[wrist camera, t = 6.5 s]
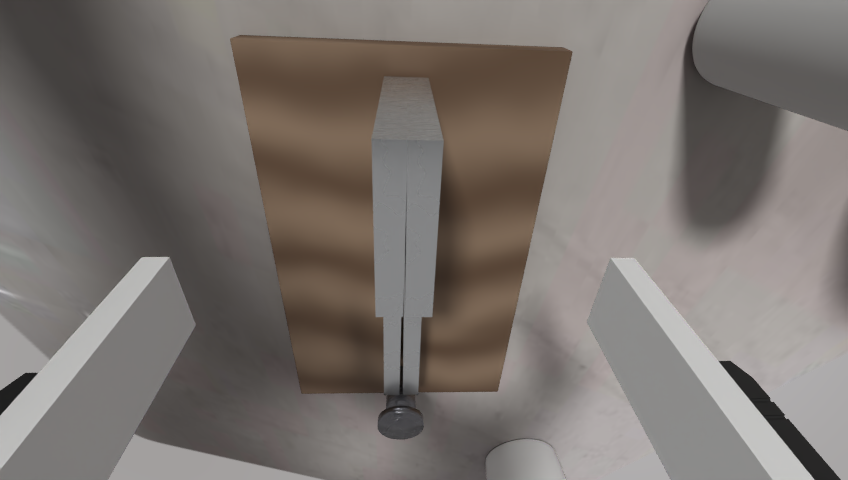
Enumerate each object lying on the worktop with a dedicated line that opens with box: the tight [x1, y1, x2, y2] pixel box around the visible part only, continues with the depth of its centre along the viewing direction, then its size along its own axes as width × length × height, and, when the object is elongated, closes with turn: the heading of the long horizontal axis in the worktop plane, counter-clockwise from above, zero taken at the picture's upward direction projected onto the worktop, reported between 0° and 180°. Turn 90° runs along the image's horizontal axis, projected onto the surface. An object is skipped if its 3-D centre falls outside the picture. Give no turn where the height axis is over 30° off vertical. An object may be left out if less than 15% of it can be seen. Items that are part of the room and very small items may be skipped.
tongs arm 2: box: [403, 77, 444, 395], centre depth 24 cm, size 23×1×10 cm, turn 178°
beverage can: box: [692, 0, 848, 131], centre depth 18 cm, size 6×6×12 cm
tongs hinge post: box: [378, 366, 424, 439], centre depth 34 cm, size 4×4×5 cm
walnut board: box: [230, 35, 572, 394], centre depth 30 cm, size 29×18×2 cm, turn 178°
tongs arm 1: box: [371, 76, 408, 395], centre depth 24 cm, size 23×1×10 cm, turn 177°
